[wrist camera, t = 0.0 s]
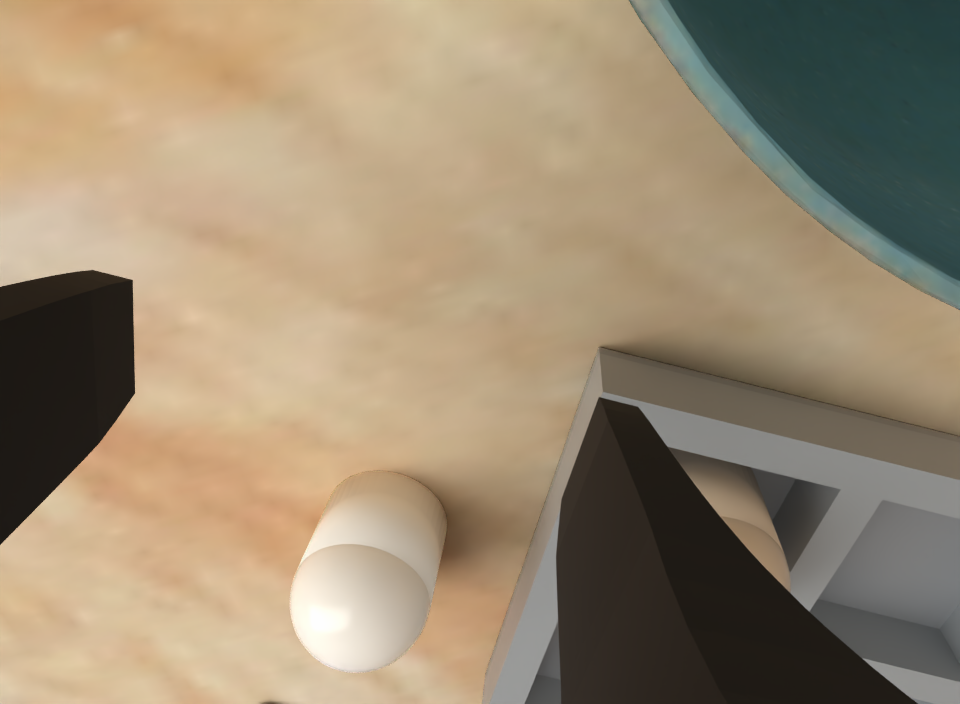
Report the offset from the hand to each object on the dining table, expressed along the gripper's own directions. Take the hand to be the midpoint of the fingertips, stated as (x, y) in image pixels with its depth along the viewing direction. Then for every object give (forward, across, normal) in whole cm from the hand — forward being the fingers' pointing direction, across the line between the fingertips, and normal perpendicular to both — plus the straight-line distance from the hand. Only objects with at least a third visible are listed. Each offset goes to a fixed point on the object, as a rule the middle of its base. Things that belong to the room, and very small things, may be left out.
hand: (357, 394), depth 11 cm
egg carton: (+10, -13, +11) cm, 20 cm away
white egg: (+10, 0, +12) cm, 16 cm away
